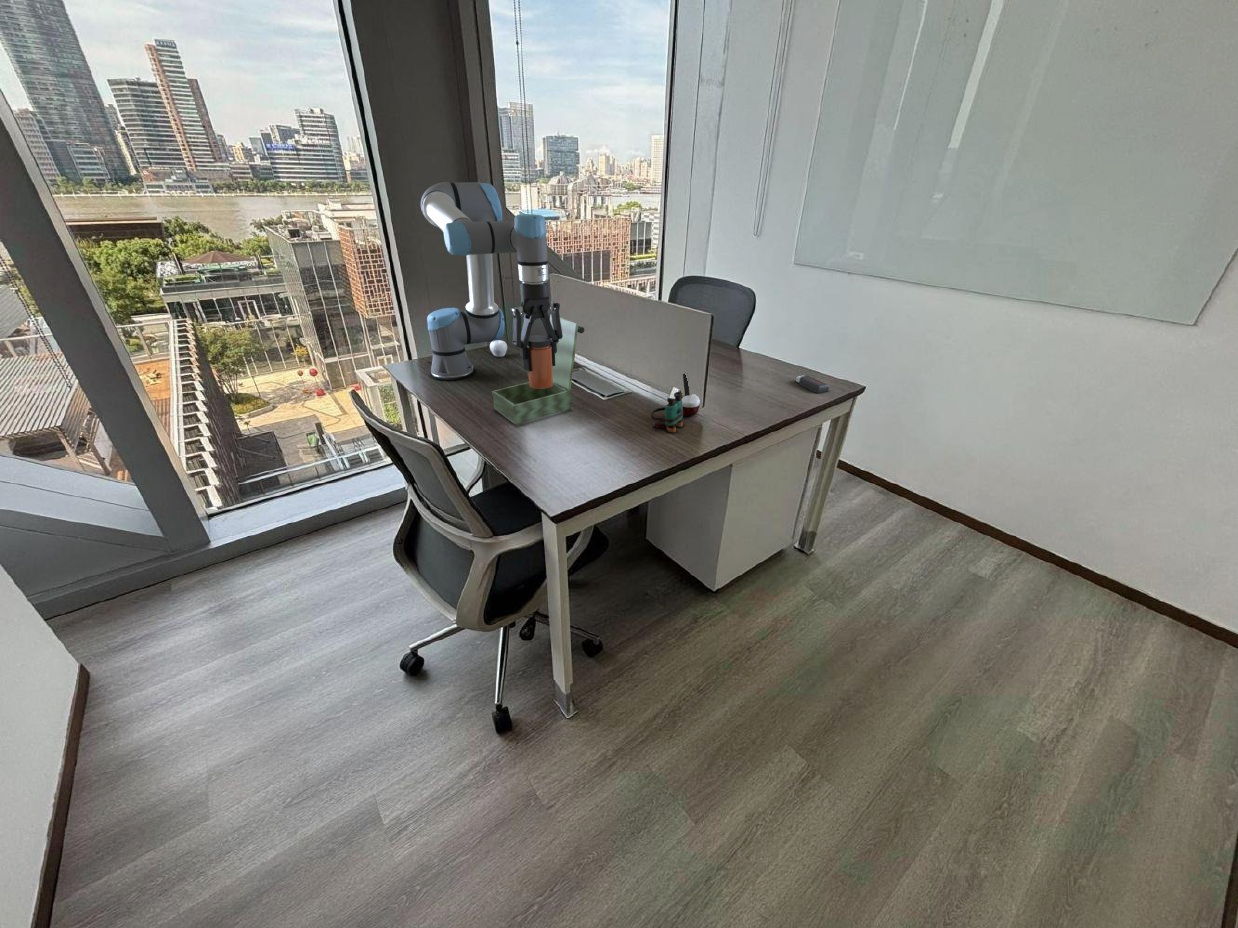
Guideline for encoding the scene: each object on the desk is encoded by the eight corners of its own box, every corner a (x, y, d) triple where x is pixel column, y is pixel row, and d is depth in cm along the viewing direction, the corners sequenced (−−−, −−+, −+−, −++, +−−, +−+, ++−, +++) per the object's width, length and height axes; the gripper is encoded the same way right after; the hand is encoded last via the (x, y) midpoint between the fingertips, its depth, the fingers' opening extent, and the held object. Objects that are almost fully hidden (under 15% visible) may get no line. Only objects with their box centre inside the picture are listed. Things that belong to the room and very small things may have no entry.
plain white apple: (493, 352, 208) (491, 334, 204) (510, 353, 208) (508, 334, 203) (488, 357, 202) (486, 338, 198) (505, 358, 202) (503, 339, 197)
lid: (576, 323, 146) (591, 324, 149) (550, 314, 155) (565, 314, 159) (568, 389, 154) (583, 388, 158) (544, 376, 164) (559, 376, 167)
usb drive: (817, 393, 174) (819, 386, 173) (793, 382, 184) (795, 375, 182) (828, 391, 176) (830, 383, 175) (804, 380, 186) (805, 373, 184)
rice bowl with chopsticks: (698, 420, 153) (702, 384, 147) (678, 419, 154) (681, 383, 147) (698, 408, 161) (701, 374, 155) (679, 407, 162) (682, 372, 156)
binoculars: (658, 387, 150) (688, 391, 145) (659, 419, 155) (688, 424, 150) (644, 396, 144) (674, 401, 139) (645, 429, 149) (675, 435, 144)
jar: (524, 383, 140) (520, 337, 134) (545, 378, 144) (542, 333, 137) (536, 390, 136) (533, 343, 129) (558, 385, 140) (555, 339, 133)
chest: (516, 426, 147) (514, 406, 144) (494, 410, 157) (492, 390, 154) (570, 410, 158) (569, 391, 154) (546, 396, 168) (545, 377, 164)
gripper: (505, 288, 118) (514, 378, 129) (574, 280, 129) (576, 363, 140) (492, 283, 123) (501, 370, 134) (559, 275, 134) (562, 357, 145)
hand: (540, 367), depth 137 cm, fingers closed on jar, 7 cm apart
